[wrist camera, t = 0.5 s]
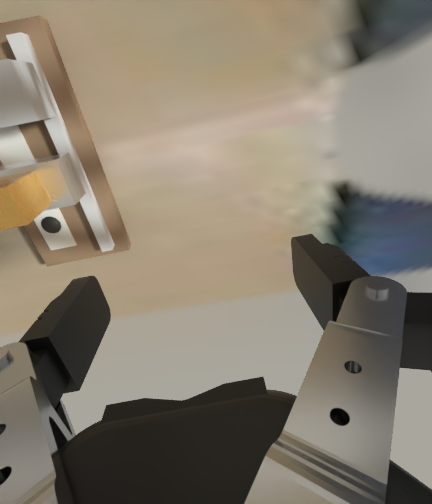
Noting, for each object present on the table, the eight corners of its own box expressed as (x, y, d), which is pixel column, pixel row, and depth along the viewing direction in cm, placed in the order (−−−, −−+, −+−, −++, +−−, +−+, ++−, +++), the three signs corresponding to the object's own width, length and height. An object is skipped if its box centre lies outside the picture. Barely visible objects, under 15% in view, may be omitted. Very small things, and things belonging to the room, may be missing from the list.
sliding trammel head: (5, 163, 27) (-63, 192, 19) (72, 150, 27) (30, 174, 19) (26, 202, 29) (-27, 242, 21) (88, 190, 29) (57, 225, 21)
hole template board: (-72, 42, 23) (-151, 27, 18) (46, 19, 23) (5, -2, 18) (51, 259, 35) (27, 292, 29) (130, 243, 35) (121, 273, 29)
